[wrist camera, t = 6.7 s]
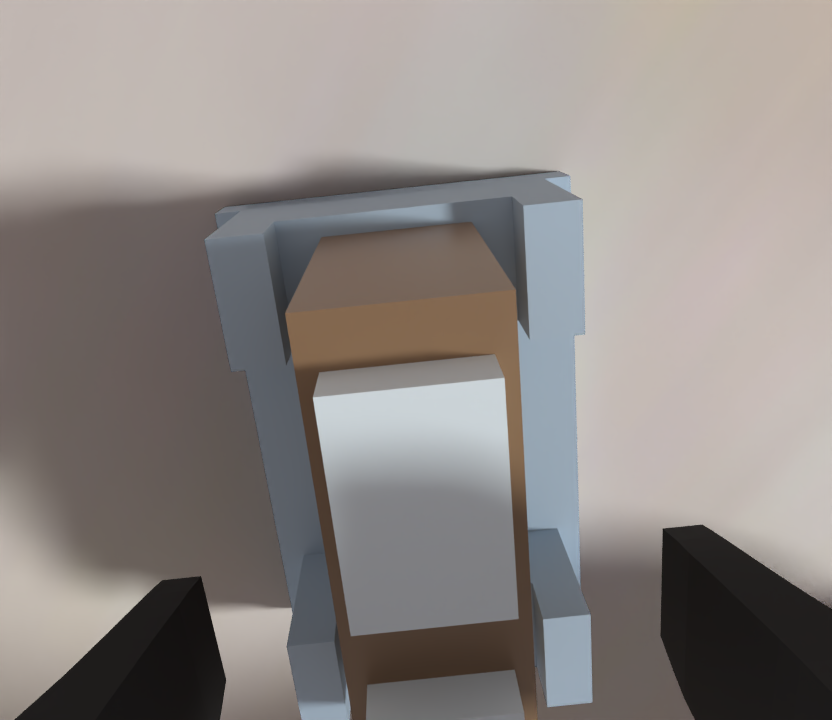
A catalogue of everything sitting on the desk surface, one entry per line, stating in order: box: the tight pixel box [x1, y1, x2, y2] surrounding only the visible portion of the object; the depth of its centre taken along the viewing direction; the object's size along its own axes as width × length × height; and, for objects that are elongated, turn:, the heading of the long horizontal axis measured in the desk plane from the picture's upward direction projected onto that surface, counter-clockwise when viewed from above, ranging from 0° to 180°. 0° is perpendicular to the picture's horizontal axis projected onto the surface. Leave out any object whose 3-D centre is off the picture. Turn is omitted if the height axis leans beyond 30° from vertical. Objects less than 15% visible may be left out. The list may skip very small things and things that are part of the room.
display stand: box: [204, 171, 592, 720], centre depth 16 cm, size 11×8×4 cm
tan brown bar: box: [285, 222, 537, 720], centre depth 12 cm, size 10×3×6 cm, turn 6°
